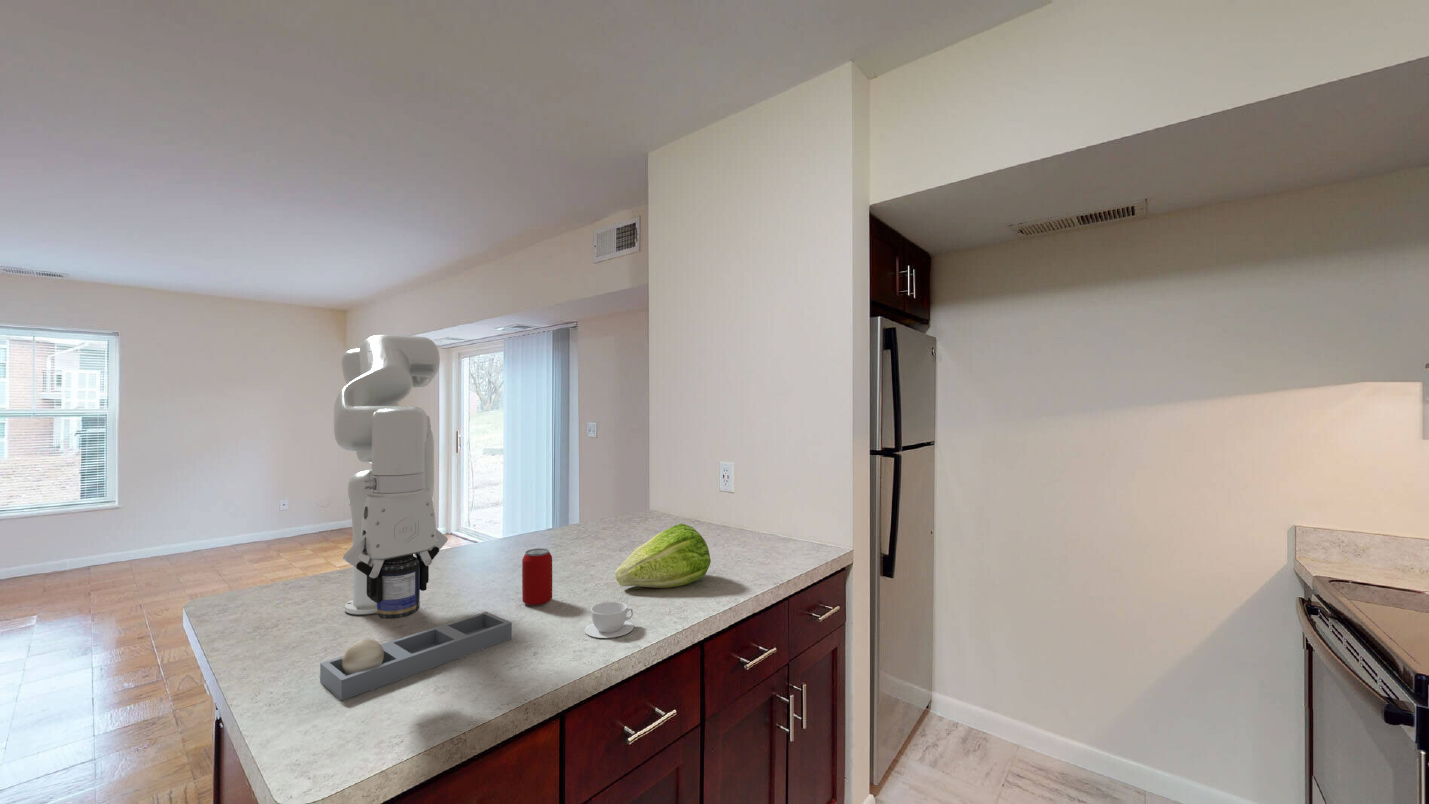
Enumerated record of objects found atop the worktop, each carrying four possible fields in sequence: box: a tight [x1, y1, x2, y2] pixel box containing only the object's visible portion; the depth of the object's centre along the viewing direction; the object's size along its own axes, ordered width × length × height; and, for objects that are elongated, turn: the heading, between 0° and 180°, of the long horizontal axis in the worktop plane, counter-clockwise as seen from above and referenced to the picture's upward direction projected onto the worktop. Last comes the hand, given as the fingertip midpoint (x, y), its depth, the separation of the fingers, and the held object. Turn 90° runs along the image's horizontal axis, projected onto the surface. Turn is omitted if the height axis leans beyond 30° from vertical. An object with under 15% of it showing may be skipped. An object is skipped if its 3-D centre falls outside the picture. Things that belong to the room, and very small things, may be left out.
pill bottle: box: [376, 554, 421, 620], centre depth 91 cm, size 6×6×11 cm
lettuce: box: [614, 523, 712, 589], centre depth 145 cm, size 15×24×16 cm
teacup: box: [584, 601, 635, 639], centre depth 115 cm, size 10×10×5 cm
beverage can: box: [521, 547, 553, 607], centre depth 132 cm, size 7×7×12 cm
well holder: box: [319, 611, 513, 701], centre depth 102 cm, size 10×30×3 cm, turn 142°
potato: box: [342, 638, 384, 675], centre depth 95 cm, size 6×6×6 cm
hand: (398, 593), depth 91 cm, fingers closed on pill bottle, 6 cm apart
